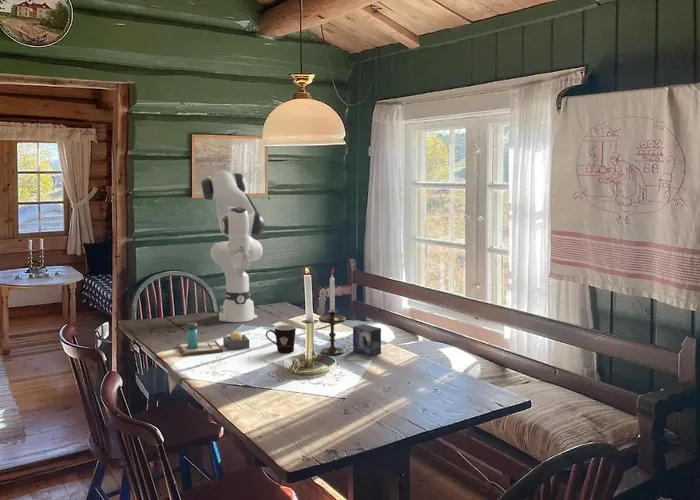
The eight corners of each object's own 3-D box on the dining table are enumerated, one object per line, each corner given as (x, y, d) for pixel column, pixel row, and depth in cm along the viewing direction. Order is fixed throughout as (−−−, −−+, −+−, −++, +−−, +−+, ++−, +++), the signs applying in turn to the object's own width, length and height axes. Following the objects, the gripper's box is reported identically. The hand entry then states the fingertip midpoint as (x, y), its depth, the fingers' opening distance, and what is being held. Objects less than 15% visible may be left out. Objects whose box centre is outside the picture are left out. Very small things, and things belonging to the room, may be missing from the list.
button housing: (223, 344, 285) (223, 336, 285) (244, 342, 289) (244, 334, 288) (227, 350, 277) (227, 341, 277) (249, 347, 280) (249, 339, 280)
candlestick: (351, 352, 274) (351, 267, 270) (332, 357, 266) (332, 270, 262) (331, 347, 281) (331, 264, 277) (313, 352, 273) (312, 267, 269)
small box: (351, 351, 275) (351, 326, 274) (363, 348, 280) (363, 323, 279) (370, 356, 268) (370, 330, 267) (381, 353, 272) (381, 328, 271)
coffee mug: (300, 350, 277) (300, 326, 275) (288, 355, 269) (287, 331, 268) (277, 346, 283) (277, 323, 281) (264, 351, 275) (264, 327, 274)
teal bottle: (186, 346, 277) (185, 323, 276) (196, 345, 279) (196, 322, 277) (188, 349, 273) (187, 325, 272) (198, 348, 275) (198, 324, 273)
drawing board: (177, 346, 282) (177, 343, 282) (215, 343, 288) (215, 339, 288) (182, 356, 268) (182, 353, 268) (222, 352, 274) (222, 348, 274)
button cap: (229, 341, 284) (228, 332, 284) (240, 340, 286) (240, 331, 285) (231, 344, 279) (231, 335, 279) (243, 343, 281) (243, 334, 281)
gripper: (252, 248, 282) (253, 280, 284) (241, 242, 301) (241, 273, 303) (237, 248, 280) (238, 281, 281) (227, 243, 298) (227, 274, 300)
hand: (240, 277), depth 292 cm, fingers closed
